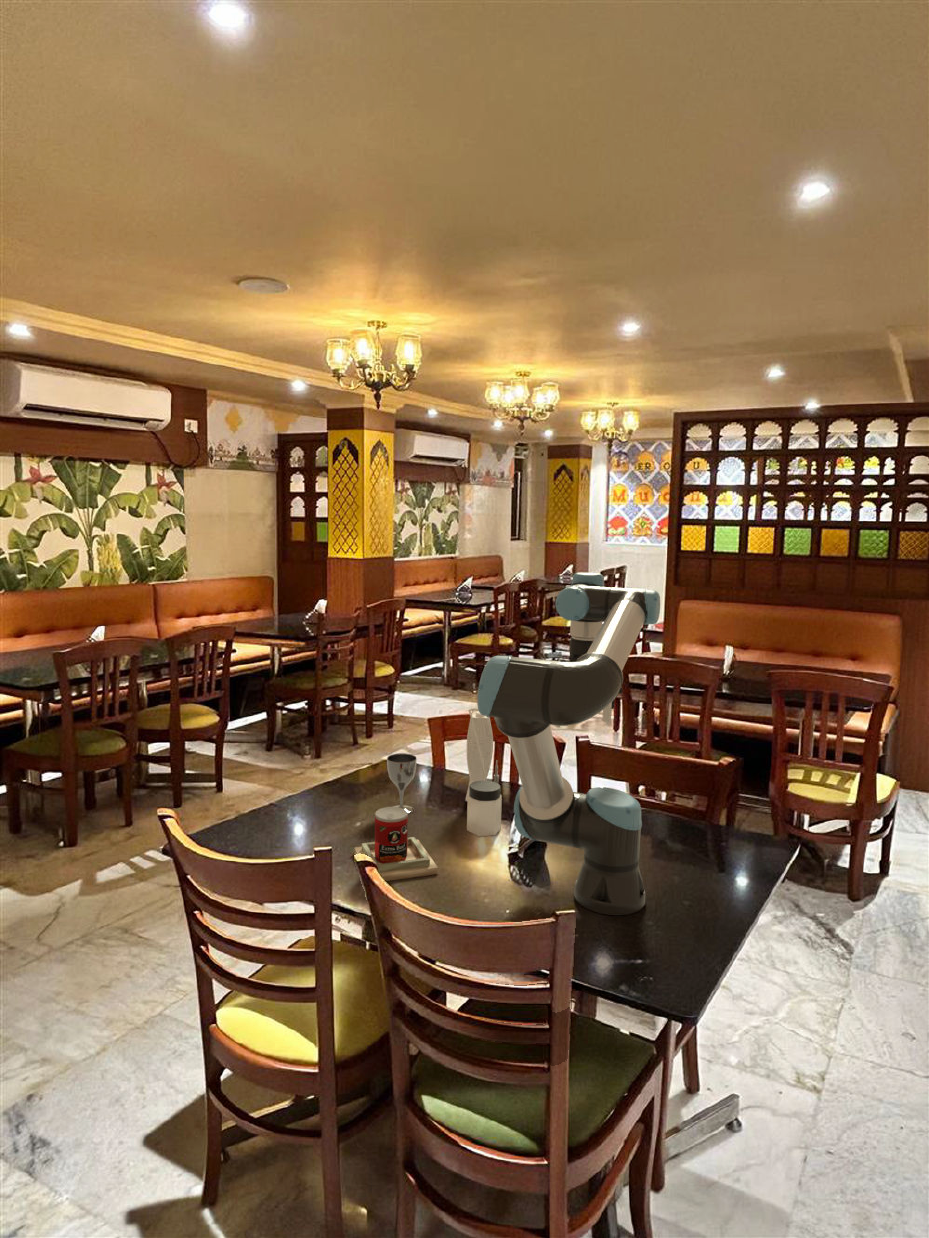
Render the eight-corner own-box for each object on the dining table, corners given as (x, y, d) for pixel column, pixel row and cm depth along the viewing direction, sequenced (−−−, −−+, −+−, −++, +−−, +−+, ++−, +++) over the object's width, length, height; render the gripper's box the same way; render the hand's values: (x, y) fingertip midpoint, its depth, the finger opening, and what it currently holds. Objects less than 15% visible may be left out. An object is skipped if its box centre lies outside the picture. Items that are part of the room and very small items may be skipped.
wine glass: (382, 807, 223) (383, 755, 221) (409, 803, 227) (410, 751, 224) (392, 817, 216) (393, 763, 214) (420, 813, 219) (420, 760, 217)
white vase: (478, 810, 223) (480, 712, 219) (458, 801, 229) (461, 706, 225) (499, 803, 229) (502, 707, 225) (480, 795, 235) (483, 701, 231)
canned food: (377, 866, 184) (377, 820, 182) (372, 852, 191) (372, 807, 190) (410, 863, 186) (411, 817, 184) (403, 848, 193) (404, 805, 192)
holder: (437, 873, 184) (438, 861, 184) (369, 883, 179) (369, 870, 179) (418, 845, 199) (418, 833, 199) (354, 853, 194) (354, 841, 193)
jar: (507, 831, 209) (508, 787, 207) (483, 839, 203) (484, 794, 202) (484, 820, 215) (485, 777, 214) (460, 828, 210) (461, 784, 209)
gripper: (623, 633, 200) (618, 716, 203) (531, 636, 191) (528, 723, 194) (639, 638, 193) (634, 724, 196) (545, 642, 184) (541, 732, 187)
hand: (581, 724), depth 195 cm, fingers open, 13 cm apart
